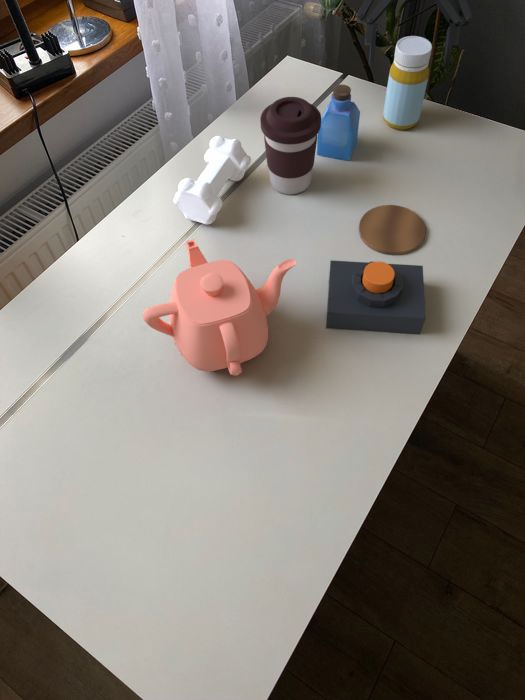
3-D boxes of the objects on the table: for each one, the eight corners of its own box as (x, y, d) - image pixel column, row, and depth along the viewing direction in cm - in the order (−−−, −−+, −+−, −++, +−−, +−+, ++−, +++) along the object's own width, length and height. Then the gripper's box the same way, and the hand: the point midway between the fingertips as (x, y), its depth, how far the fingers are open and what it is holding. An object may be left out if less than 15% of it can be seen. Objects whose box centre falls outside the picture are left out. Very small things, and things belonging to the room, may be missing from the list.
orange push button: (392, 271, 89) (394, 262, 88) (392, 294, 87) (394, 285, 85) (362, 269, 90) (364, 260, 88) (362, 292, 87) (363, 283, 86)
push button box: (417, 283, 95) (425, 257, 90) (420, 335, 90) (427, 310, 85) (328, 277, 96) (331, 252, 91) (325, 328, 91) (328, 304, 86)
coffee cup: (251, 180, 109) (247, 107, 97) (292, 156, 113) (293, 82, 100) (288, 209, 105) (288, 136, 93) (329, 183, 108) (334, 109, 96)
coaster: (423, 209, 104) (424, 206, 103) (426, 257, 98) (427, 254, 97) (359, 206, 105) (359, 203, 104) (358, 253, 99) (358, 250, 98)
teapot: (197, 283, 97) (185, 223, 85) (296, 314, 93) (297, 254, 81) (150, 363, 89) (130, 308, 77) (255, 400, 85) (251, 348, 73)
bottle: (378, 127, 116) (390, 53, 104) (386, 106, 120) (398, 32, 107) (414, 134, 115) (430, 59, 102) (421, 112, 119) (437, 37, 106)
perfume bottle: (316, 155, 113) (319, 97, 103) (325, 134, 116) (329, 76, 106) (349, 161, 111) (355, 103, 101) (356, 140, 115) (363, 82, 105)
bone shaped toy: (218, 232, 103) (213, 196, 96) (174, 219, 105) (166, 182, 98) (254, 176, 110) (252, 139, 103) (212, 165, 112) (207, 128, 105)
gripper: (488, -54, 108) (473, 72, 113) (349, -56, 111) (339, 68, 115) (500, -74, 101) (483, 62, 106) (350, -76, 103) (340, 57, 108)
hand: (408, 65), depth 110 cm, fingers open, 13 cm apart
